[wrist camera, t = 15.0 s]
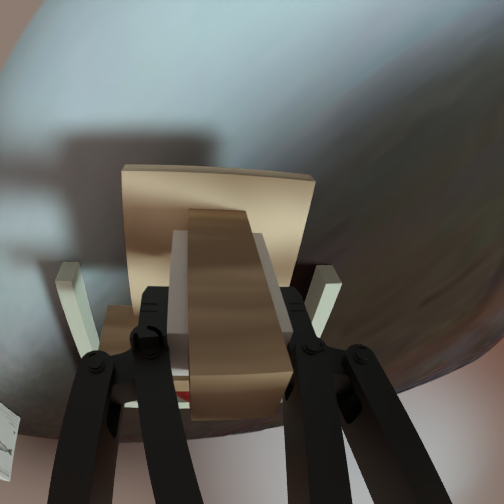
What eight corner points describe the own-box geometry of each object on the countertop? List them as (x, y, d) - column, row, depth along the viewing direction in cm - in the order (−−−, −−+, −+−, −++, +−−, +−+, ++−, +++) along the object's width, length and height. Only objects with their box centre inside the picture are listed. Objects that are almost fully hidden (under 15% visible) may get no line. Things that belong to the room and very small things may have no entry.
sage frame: (63, 261, 23) (54, 281, 21) (331, 265, 28) (342, 283, 26) (104, 388, 34) (102, 405, 32) (285, 385, 39) (290, 401, 37)
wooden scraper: (89, 164, 15) (-9, 314, 6) (341, 178, 18) (457, 312, 9) (110, 316, 21) (89, 462, 12) (299, 317, 24) (346, 450, 15)
